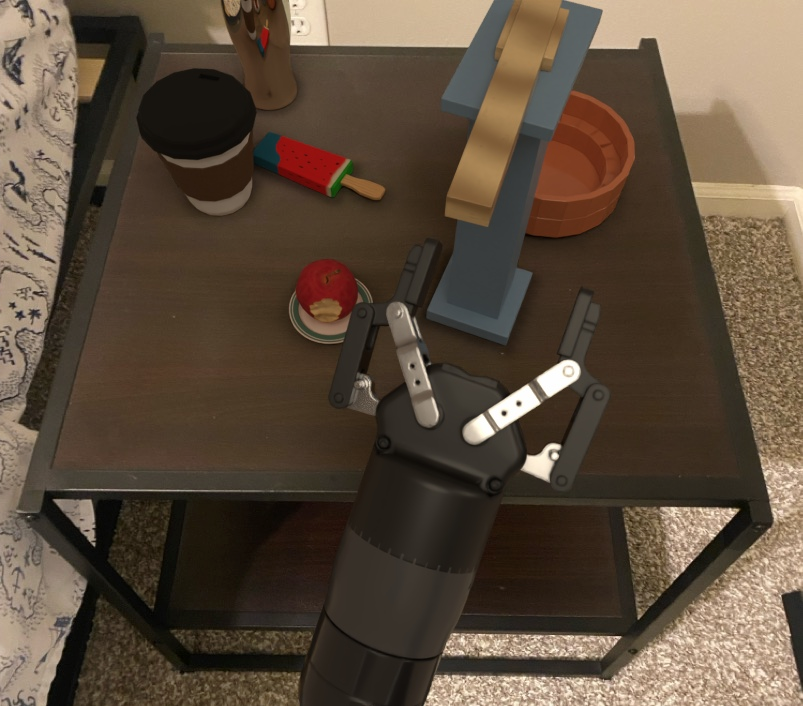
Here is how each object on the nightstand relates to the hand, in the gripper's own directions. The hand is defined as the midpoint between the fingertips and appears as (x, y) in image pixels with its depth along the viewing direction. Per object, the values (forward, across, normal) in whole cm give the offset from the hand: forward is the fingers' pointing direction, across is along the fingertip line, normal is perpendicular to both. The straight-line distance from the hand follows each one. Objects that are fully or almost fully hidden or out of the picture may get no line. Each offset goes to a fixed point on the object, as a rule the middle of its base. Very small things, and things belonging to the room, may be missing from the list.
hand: (509, 264), depth 38 cm
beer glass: (+16, +36, +40) cm, 56 cm away
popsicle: (+7, +25, +35) cm, 44 cm away
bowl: (+14, +2, +39) cm, 42 cm away
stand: (0, +4, +31) cm, 31 cm away
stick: (+9, +3, +4) cm, 10 cm away
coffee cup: (+2, +34, +32) cm, 46 cm away
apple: (-6, +17, +28) cm, 33 cm away
